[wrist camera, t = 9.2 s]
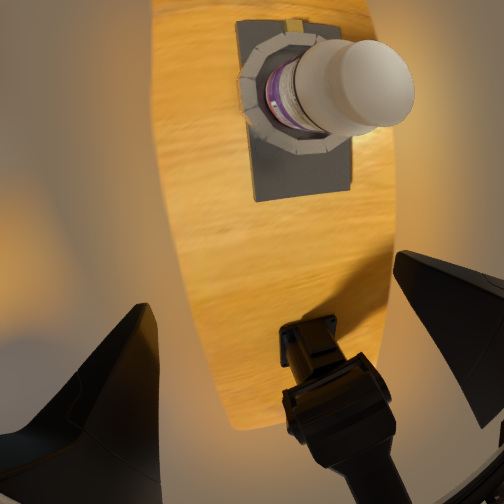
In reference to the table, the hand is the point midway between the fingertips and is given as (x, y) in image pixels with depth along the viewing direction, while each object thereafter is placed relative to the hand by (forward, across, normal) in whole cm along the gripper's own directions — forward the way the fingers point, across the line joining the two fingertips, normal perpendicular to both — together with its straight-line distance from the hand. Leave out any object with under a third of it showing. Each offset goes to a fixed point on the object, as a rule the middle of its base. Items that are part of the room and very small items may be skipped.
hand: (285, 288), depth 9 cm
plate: (+13, -6, -6) cm, 15 cm away
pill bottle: (+12, -6, -7) cm, 15 cm away
